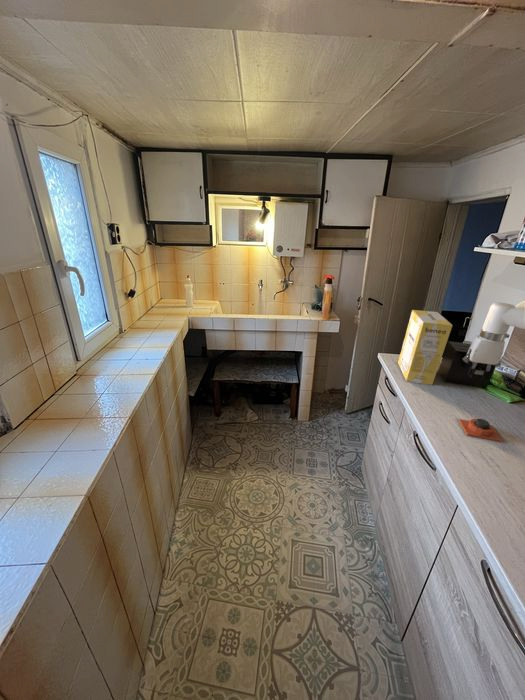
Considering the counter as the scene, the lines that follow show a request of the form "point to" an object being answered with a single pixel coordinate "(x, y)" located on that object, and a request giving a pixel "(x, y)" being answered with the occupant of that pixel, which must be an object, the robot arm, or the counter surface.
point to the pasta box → (423, 346)
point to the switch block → (479, 430)
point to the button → (482, 424)
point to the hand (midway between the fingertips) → (475, 376)
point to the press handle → (478, 370)
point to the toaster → (461, 367)
